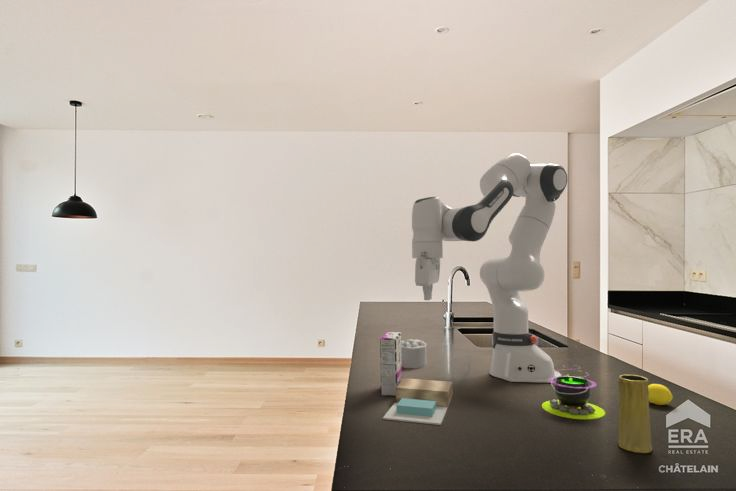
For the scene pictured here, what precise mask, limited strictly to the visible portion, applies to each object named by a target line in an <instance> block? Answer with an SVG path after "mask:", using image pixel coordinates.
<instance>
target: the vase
mask: <svg viewBox="0 0 736 491" xmlns="http://www.w3.org/2000/svg"><path fill="white" fill-rule="evenodd" d="M648 385H649V379H648V378H647V377H645V376H643V375H637V374H621V375H619V376H618V389H619V390H618V391H619V410H618V413H619V414H618V417H619V418H618V440H617V445H618V446H619V448H620V449H623V450H625V451H627V452H630V453H635V454H651V452H652V451H653V446H652V435H651V434H652V433H651V419H650V418H651V417H650V401H649V390H648Z"/></svg>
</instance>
